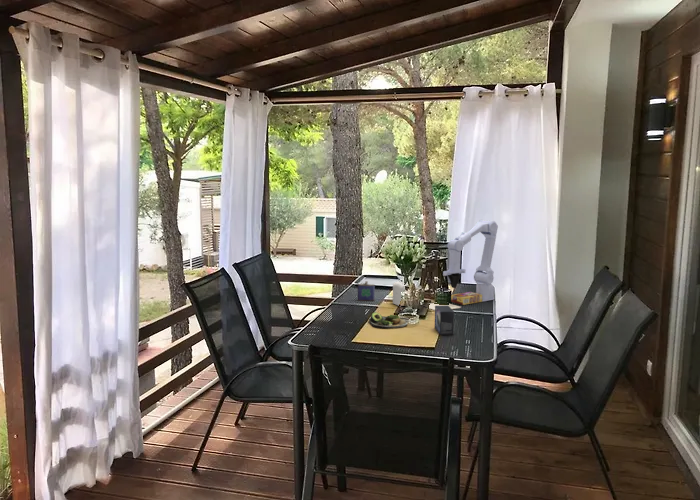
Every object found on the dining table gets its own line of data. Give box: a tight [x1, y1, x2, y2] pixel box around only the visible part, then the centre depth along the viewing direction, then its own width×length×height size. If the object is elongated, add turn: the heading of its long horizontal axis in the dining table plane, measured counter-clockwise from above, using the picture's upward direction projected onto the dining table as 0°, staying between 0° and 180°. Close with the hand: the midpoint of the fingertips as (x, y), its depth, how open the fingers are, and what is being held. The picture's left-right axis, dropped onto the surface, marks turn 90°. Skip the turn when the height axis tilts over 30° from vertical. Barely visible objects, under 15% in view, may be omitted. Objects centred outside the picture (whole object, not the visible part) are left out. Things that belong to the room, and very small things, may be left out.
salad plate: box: [368, 312, 410, 330], centre depth 250 cm, size 19×18×5 cm
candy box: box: [450, 291, 483, 306], centre depth 294 cm, size 9×4×15 cm
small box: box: [434, 305, 455, 336], centre depth 238 cm, size 11×6×10 cm, turn 5°
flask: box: [357, 281, 376, 302], centre depth 294 cm, size 9×3×11 cm, turn 88°
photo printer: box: [392, 281, 407, 307], centre depth 284 cm, size 10×4×12 cm, turn 26°
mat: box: [429, 302, 462, 311], centre depth 283 cm, size 16×14×1 cm
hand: (453, 287), depth 287 cm, fingers closed
